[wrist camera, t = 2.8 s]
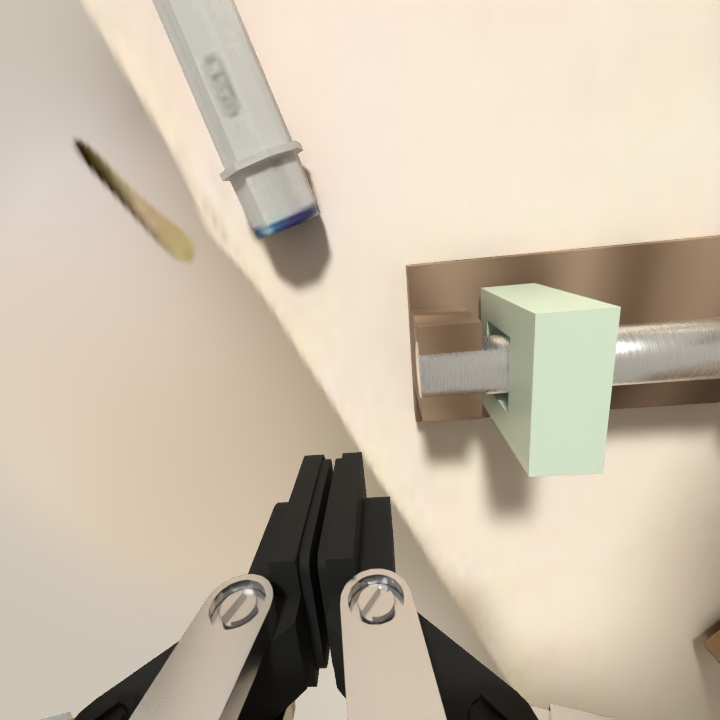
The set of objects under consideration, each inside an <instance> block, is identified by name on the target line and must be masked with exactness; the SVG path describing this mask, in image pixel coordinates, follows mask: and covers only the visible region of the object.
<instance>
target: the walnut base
mask: <svg viewBox="0 0 720 720" xmlns="http://www.w3.org/2000/svg"><path fill="white" fill-rule="evenodd" d="M406 274H407V291H408V308H409V326H410V343H411V360H412V377H413V394H414V412H415V417H416V421H423V422H429V421H445V420H461V419H476V418H482V417H491V416H490V415H489V413H488V412H487V410H486V408H485V407H484V405H483V404H482V393H475V394H460V395H446V396H431V397H422V398H420V394H419V388H418V380H417V369H416V341H417V343H418V348H419V355H427V354H440V353H453V352H466V351H479V350H482V322H481V288H484V287H496V286H507V285H518V284H529V283H537V284H540V285H544V286H547V287H551V288H555V289H558V290H562V291H565V292H569V293H573V294H576V295H580V296H583V297H587V298H591V299H594V300H598V301H601V302H605V303H609V304H612V305H616V306H620V307H621V310H620V319H619V325H627V324H640V323H652V322H665V321H677V320H690V319H702V318H715V317H720V235H718V236H708V237H697V238H686V239H676V240H665V241H655V242H644V243H634V244H623V245H613V246H602V247H592V248H581V249H570V250H560V251H549V252H539V253H528V254H518V255H507V256H497V257H486V258H476V259H465V260H454V261H444V262H433V263H423V264H412V265H406ZM715 402H720V378H719V379H704V380H689V381H675V382H660V383H645V384H631V385H616V386H612V392H611V401H610V409H621V408H636V407H652V406H668V405H684V404H699V403H715Z"/></svg>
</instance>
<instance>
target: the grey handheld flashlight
mask: <svg viewBox="0 0 720 720" xmlns="http://www.w3.org/2000/svg"><path fill="white" fill-rule="evenodd" d="M153 2H154V5H155V7H156V9H157V12H158V14H159V16H160V19H161V21H162V24H163V26H164V28H165V31H166V33H167V35H168V38H169V40H170V42H171V45H172V47H173V49H174V52H175V54H176V56H177V59H178V61H179V63H180V66H181V68H182V70H183V73H184V75H185V77H186V80H187V82H188V84H189V87H190V89H191V91H192V94H193V96H194V98H195V101H196V103H197V105H198V108H199V110H200V112H201V115H202V117H203V119H204V122H205V124H206V126H207V129H208V131H209V133H210V136H211V138H212V140H213V143H214V145H215V147H216V150H217V152H218V154H219V157H220V159H221V161H222V164H223V166H224V168H225V170H224V171H223V172H222V173H221V174H220V176H221V178H222V181H231V184H232V186H233V188H234V190H235V192H236V194H237V196H238V199H239V201H240V203H241V205H242V207H243V209H244V211H245V213H246V216H247V218H248V220H249V222H250V224H251V226H252V228H253V230H254V233H255V235H256V237H257V239H258V240H259V239H261V238H264V237H267V236H270V235H272V234H275V233H277V232H280V231H282V230H285V229H287V228H290V227H292V226H295V225H297V224H299V223H302V222H304V221H306V220H308V219H311V218H313V217H315V216H317V215H319V214H320V210H319V207H318V205H317V202H316V200H315V197H314V195H313V192H312V190H311V187H310V184H309V182H308V179H307V177H306V174H305V172H304V169H303V166H302V164H301V161H300V159H299V156H298V153H300V152H301V151H303V149H302V147H301V144H300V143H298V142H297V141H292V139H291V136H290V134H289V132H288V129H287V127H286V124H285V122H284V120H283V117H282V115H281V113H280V110H279V108H278V105H277V103H276V101H275V98H274V96H273V93H272V91H271V89H270V86H269V84H268V81H267V79H266V77H265V74H264V72H263V69H262V67H261V65H260V62H259V60H258V57H257V55H256V53H255V50H254V48H253V46H252V43H251V41H250V38H249V36H248V34H247V31H246V29H245V26H244V24H243V22H242V19H241V17H240V14H239V12H238V10H237V7H236V5H235V2H234V0H153Z"/></svg>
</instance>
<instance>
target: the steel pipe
mask: <svg viewBox="0 0 720 720" xmlns="http://www.w3.org/2000/svg"><path fill="white" fill-rule="evenodd" d="M509 352H510V337H509V336H507V335H506V334H501V335H488V336H482V350H479V351H466V352H453V353H440V354H427V355H419V348H418V343H417V341H416V369H417V380H418V388H419V394H420V398H422V397H431V396H446V395H460V394H475V393H482V395H483V394H498V393H509ZM719 378H720V317H715V318H702V319H690V320H677V321H665V322H652V323H640V324H627V325H619V328H618V337H617V346H616V355H615V365H614V374H613V383H612V386H616V385H631V384H645V383H660V382H675V381H689V380H704V379H719Z"/></svg>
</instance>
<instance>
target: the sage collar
mask: <svg viewBox="0 0 720 720" xmlns="http://www.w3.org/2000/svg"><path fill="white" fill-rule="evenodd" d="M620 310H621V307H620V306H616V305H612V304H609V303H605V302H601V301H598V300H594V299H591V298H587V297H583V296H580V295H576V294H573V293H569V292H565V291H562V290H558V289H555V288H551V287H547V286H544V285H540V284H537V283H529V284H518V285H507V286H496V287H484V288H481V322H482V336H488V335H501V334H506V335H507V336H509V337H510V352H509V393H498V394H483V395H482V404H483V405H484V407H485V408H486V410H487V412H488V413H489V415H490V416H491V418H492V420H493V421H494V423H495V424H496V426H497V427H498V429H499V431H500V432H501V434H502V435H503V437H504V439H505V440H506V442H507V443H508V445H509V447H510V448H511V450H512V451H513V453H514V455H515V456H516V458H517V459H518V461H519V463H520V464H521V466H522V467H523V469H524V470H525V472H526V474H527V475H528V477H541V476H561V475H580V474H600V473H603V465H604V456H605V447H606V438H607V429H608V420H609V410H610V401H611V392H612V383H613V374H614V365H615V355H616V346H617V337H618V328H619V319H620Z"/></svg>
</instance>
